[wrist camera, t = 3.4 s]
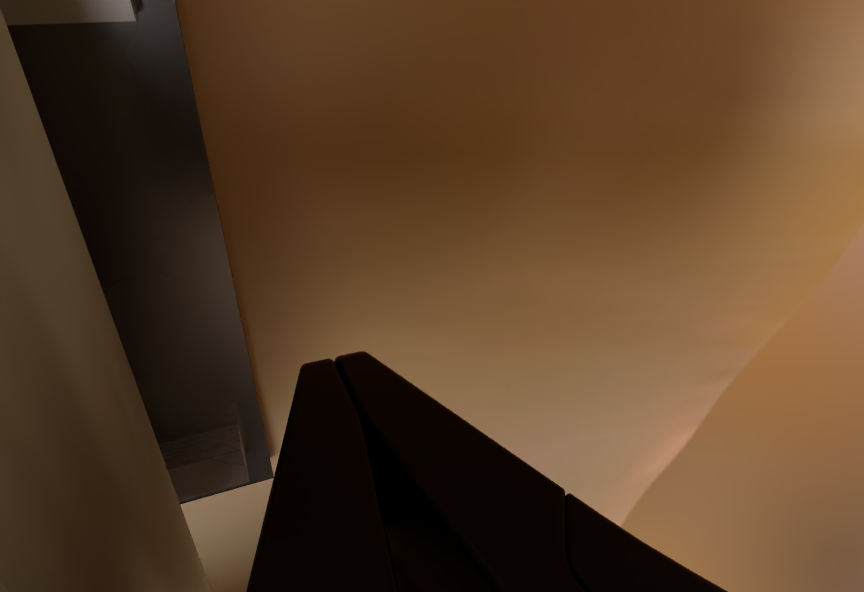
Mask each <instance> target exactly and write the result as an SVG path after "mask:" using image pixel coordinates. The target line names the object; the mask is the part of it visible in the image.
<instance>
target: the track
mask: <svg viewBox="0 0 864 592" xmlns="http://www.w3.org/2000/svg"><path fill="white" fill-rule="evenodd" d="M0 8H1V11H2V14H3V17H4V19H5V22H6V25H7V28H8V30H9V33H10V36H11V39H12V41H13V44H14V47H15V50H16V53H17V55H18V58H19V61H20V64H21V66H22V69H23V72H24V75H25V77H26V80H27V83H28V86H29V88H30V91H31V94H32V97H33V100H34V102H35V105H36V108H37V111H38V113H39V116H40V119H41V122H42V124H43V127H44V130H45V133H46V135H47V138H48V141H49V144H50V147H51V149H52V152H53V155H54V158H55V160H56V163H57V166H58V169H59V171H60V174H61V177H62V180H63V183H64V185H65V188H66V191H67V194H68V196H69V199H70V202H71V205H72V207H73V210H74V213H75V216H76V218H77V221H78V224H79V227H80V230H81V232H82V235H83V238H84V241H85V243H86V246H87V249H88V252H89V254H90V257H91V260H92V263H93V265H94V268H95V271H96V274H97V277H98V279H99V282H100V285H101V288H102V290H103V293H104V296H105V299H106V301H107V304H108V307H109V310H110V313H111V315H112V318H113V321H114V324H115V326H116V329H117V332H118V335H119V337H120V340H121V343H122V346H123V348H124V351H125V354H126V357H127V360H128V362H129V365H130V368H131V371H132V373H133V376H134V379H135V382H136V384H137V387H138V390H139V393H140V395H141V398H142V401H143V404H144V407H145V409H146V412H147V415H148V418H149V420H150V423H151V426H152V429H153V431H154V434H155V437H156V440H157V443H158V445H159V448H160V451H161V454H162V456H163V459H164V462H165V465H166V467H167V470H168V473H169V476H170V478H171V481H172V484H173V487H174V490H175V492H176V495H177V498H178V501H179V503H180V504H183V503H187V502H190V501H194V500H197V499H201V498H204V497H208V496H211V495H215V494H218V493H222V492H225V491H229V490H232V489H236V488H239V487H243V486H246V485H250V484H253V483H257V482H261V481H264V480H268V479H271V478H274V476H273V471H272V466H271V461H270V456H269V451H268V446H267V441H266V437H265V432H264V427H263V422H262V417H261V413H260V408H259V403H258V398H257V393H256V388H255V384H254V379H253V374H252V369H251V364H250V360H249V355H248V350H247V345H246V340H245V336H244V331H243V326H242V321H241V316H240V312H239V307H238V302H237V297H236V292H235V288H234V283H233V278H232V273H231V268H230V264H229V259H228V254H227V249H226V244H225V239H224V235H223V230H222V225H221V220H220V215H219V211H218V206H217V201H216V196H215V191H214V187H213V182H212V177H211V172H210V167H209V163H208V158H207V153H206V148H205V143H204V139H203V134H202V129H201V124H200V119H199V114H198V110H197V105H196V100H195V95H194V90H193V86H192V81H191V76H190V71H189V66H188V62H187V57H186V52H185V47H184V42H183V38H182V33H181V28H180V23H179V18H178V14H177V9H176V4H175V0H0Z"/></svg>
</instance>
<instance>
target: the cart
mask: <svg viewBox="0 0 864 592" xmlns="http://www.w3.org/2000/svg"><path fill="white" fill-rule="evenodd" d="M0 592H210V586H209V584H208V581H207V578H206V575H205V573H204V570H203V567H202V564H201V561H200V559H199V556H198V553H197V550H196V548H195V545H194V542H193V539H192V537H191V534H190V531H189V528H188V526H187V523H186V520H185V517H184V514H183V512H182V509H181V506H180V503H179V501H178V498H177V495H176V492H175V490H174V487H173V484H172V481H171V478H170V476H169V473H168V470H167V467H166V465H165V462H164V459H163V456H162V454H161V451H160V448H159V445H158V443H157V440H156V437H155V434H154V431H153V429H152V426H151V423H150V420H149V418H148V415H147V412H146V409H145V407H144V404H143V401H142V398H141V395H140V393H139V390H138V387H137V384H136V382H135V379H134V376H133V373H132V371H131V368H130V365H129V362H128V360H127V357H126V354H125V351H124V348H123V346H122V343H121V340H120V337H119V335H118V332H117V329H116V326H115V324H114V321H113V318H112V315H111V313H110V310H109V307H108V304H107V301H106V299H105V296H104V293H103V290H102V288H101V285H100V282H99V279H98V277H97V274H96V271H95V268H94V265H93V263H92V260H91V257H90V254H89V252H88V249H87V246H86V243H85V241H84V238H83V235H82V232H81V230H80V227H79V224H78V221H77V218H76V216H75V213H74V210H73V207H72V205H71V202H70V199H69V196H68V194H67V191H66V188H65V185H64V183H63V180H62V177H61V174H60V171H59V169H58V166H57V163H56V160H55V158H54V155H53V152H52V149H51V147H50V144H49V141H48V138H47V135H46V133H45V130H44V127H43V124H42V122H41V119H40V116H39V113H38V111H37V108H36V105H35V102H34V100H33V97H32V94H31V91H30V88H29V86H28V83H27V80H26V77H25V75H24V72H23V69H22V66H21V64H20V61H19V58H18V55H17V53H16V50H15V47H14V44H13V41H12V39H11V36H10V33H9V30H8V28H7V25H6V22H5V19H4V17H3V14H2V11H1V8H0Z"/></svg>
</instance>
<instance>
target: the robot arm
mask: <svg viewBox="0 0 864 592" xmlns="http://www.w3.org/2000/svg"><path fill="white" fill-rule="evenodd" d="M246 592H728V591H726V590H724V589H722V588H721V587H719V586H717V585H715V584H713V583H712V582H710V581H708V580H706V579H704V578H703V577H701V576H699V575H698V574H696V573H694V572H693V571H691V570H689V569H687V568H686V567H684V566H682V565H681V564H679V563H677V562H676V561H674V560H672V559H671V558H669V557H667V556H666V555H664V554H662V553H661V552H659V551H657V550H656V549H654V548H652V547H650V546H649V545H647V544H645V543H644V542H642V541H641V540H639V539H638V538H636V537H634V536H633V535H632V534H630V533H629V532H627V531H625V530H624V529H622V528H621V527H619V526H618V525H616V524H615V523H613V522H612V521H610V520H609V519H607V518H606V517H604V516H603V515H601V514H600V513H598V512H597V511H595V510H594V509H592V508H591V507H589V506H588V505H587V504H585V503H584V502H582V501H581V500H579V499H578V498H576V497H575V496H574V495H572V494H567V495H566V496H565V490H564V489H563V488H562V487H560V486H559V485H557V484H556V483H554V482H553V481H551V480H550V479H549V478H547V477H546V476H544V475H543V474H541V473H540V472H538V471H537V470H536V469H534V468H533V467H531V466H530V465H528V464H527V463H526V462H524V461H523V460H521V459H520V458H518V457H517V456H515V455H514V454H513V453H511V452H510V451H508V450H507V449H505V448H504V447H502V446H501V445H500V444H498V443H497V442H495V441H494V440H492V439H491V438H489V437H488V436H487V435H485V434H484V433H482V432H481V431H479V430H478V429H476V428H475V427H474V426H472V425H471V424H469V423H468V422H466V421H465V420H463V419H462V418H461V417H459V416H458V415H456V414H455V413H453V412H452V411H450V410H449V409H448V408H446V407H445V406H443V405H442V404H440V403H439V402H438V401H436V400H435V399H433V398H432V397H430V396H429V395H427V394H426V393H425V392H423V391H422V390H420V389H419V388H417V387H416V386H414V385H413V384H412V383H410V382H409V381H407V380H406V379H404V378H403V377H401V376H400V375H399V374H397V373H396V372H394V371H393V370H391V369H390V368H388V367H387V366H386V365H384V364H383V363H381V362H380V361H378V360H377V359H375V358H374V357H373V356H371V355H370V354H368V353H366V352H363V351H362V352H356V353H351V354H347V355H342V356H338V357H337V358H336V359H335V361H333V360H332V359H324V360H319V361H315V362H310V363H306V364H304V365H302V367H301V369H300V372H299V377H298V381H297V385H296V389H295V393H294V397H293V401H292V405H291V410H290V414H289V418H288V422H287V426H286V430H285V434H284V438H283V443H282V447H281V451H280V455H279V459H278V463H277V467H276V471H275V476H274V480H273V484H272V488H271V492H270V496H269V500H268V504H267V509H266V513H265V517H264V521H263V525H262V529H261V533H260V537H259V542H258V546H257V550H256V554H255V558H254V562H253V566H252V570H251V575H250V579H249V583H248V587H247V591H246Z"/></svg>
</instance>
